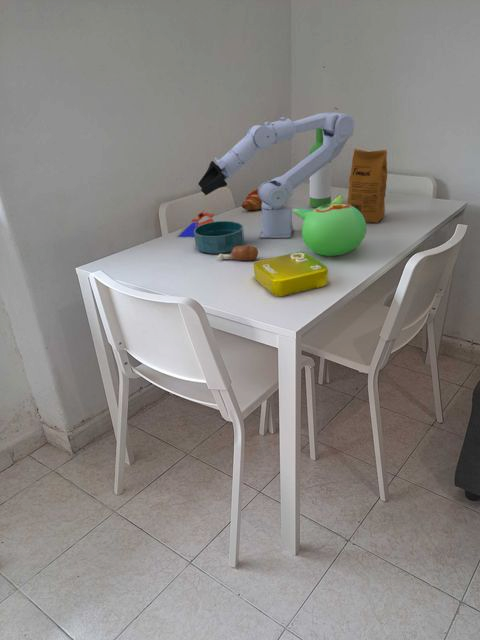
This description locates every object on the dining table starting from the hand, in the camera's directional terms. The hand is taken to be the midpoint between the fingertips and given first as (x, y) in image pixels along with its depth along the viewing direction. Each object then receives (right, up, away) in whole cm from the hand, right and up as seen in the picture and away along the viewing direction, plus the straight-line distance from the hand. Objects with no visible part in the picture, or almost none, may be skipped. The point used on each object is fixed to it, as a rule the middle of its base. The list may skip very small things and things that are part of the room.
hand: (201, 189), depth 144 cm
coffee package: (+52, -3, +23) cm, 57 cm away
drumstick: (+11, -21, -2) cm, 24 cm away
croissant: (+18, +8, +45) cm, 49 cm away
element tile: (+25, -29, -17) cm, 42 cm away
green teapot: (+38, -19, -2) cm, 42 cm away
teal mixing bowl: (+5, -15, +9) cm, 18 cm away
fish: (-2, -6, +24) cm, 25 cm away
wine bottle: (+39, +7, +40) cm, 56 cm away
